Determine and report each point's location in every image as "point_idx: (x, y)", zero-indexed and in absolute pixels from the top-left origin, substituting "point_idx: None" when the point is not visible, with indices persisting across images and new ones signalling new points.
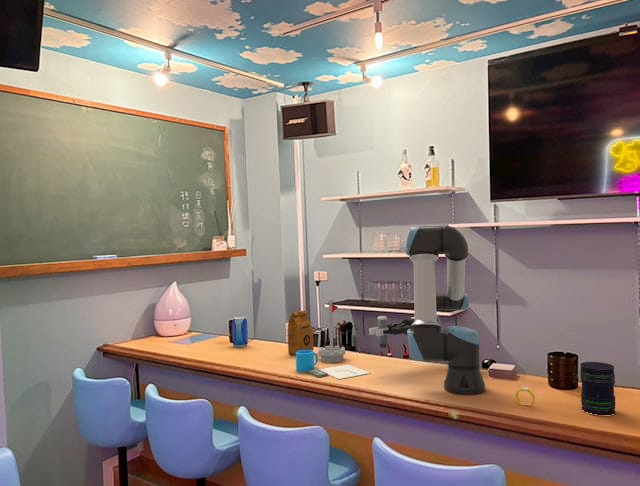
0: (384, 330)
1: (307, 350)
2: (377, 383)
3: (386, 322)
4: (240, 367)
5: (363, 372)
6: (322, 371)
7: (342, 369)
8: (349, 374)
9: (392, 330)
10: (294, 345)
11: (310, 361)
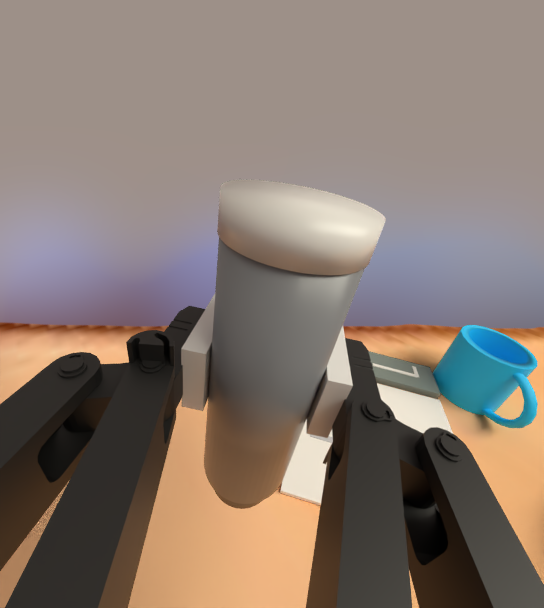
0: (200, 316)
1: (526, 363)
2: None
3: (217, 281)
4: (534, 335)
5: (307, 472)
6: (395, 380)
7: None
8: None
9: (113, 368)
10: None
11: (451, 360)
